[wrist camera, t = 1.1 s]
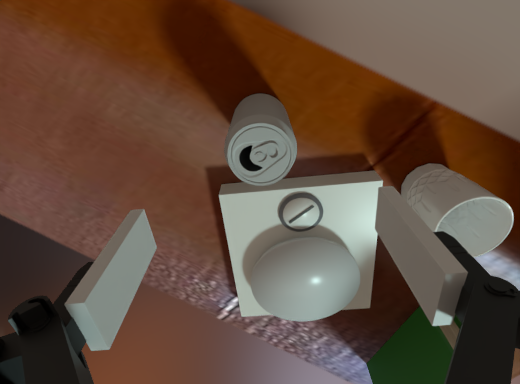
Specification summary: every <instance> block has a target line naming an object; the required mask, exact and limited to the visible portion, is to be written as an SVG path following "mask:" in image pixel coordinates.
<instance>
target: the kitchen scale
mask: <svg viewBox="0 0 520 384" xmlns="http://www.w3.org/2000/svg"><path fill="white" fill-rule="evenodd" d="M382 185H383V180H382V179H381V178H380V176H379V175H378V174H377V173H376V172H375V170H374V171H363V172H352V173H341V174H330V175H319V176H308V177H297V178H285V179H281V180H279V181H278V182H276V183H274V184H271V185H266V186H255V185H251V184H248V183H245V182H241V183H230V184H221V188H220V192H219V200H220V205H221V210H222V215H223V221H224V226H225V231H226V237H227V242H228V247H229V252H230V258H231V263H232V268H233V274H234V279H235V284H236V289H237V295H238V300H239V305H240V311H241V316H242V317H246V316H260V315H274V316H277V317H279V318H282V319H286V320H291V321H313V320H318V319H322V318H325V317H328V316H331V315H333V314H335V313H337V312H338V311H340V310H349V309H363V308H370V303H371V293H372V283H373V273H374V263H375V254H376V244H377V234H378V233H377V232H376V230H375V220H376V209H377V199H378V188H379V187H382Z"/></svg>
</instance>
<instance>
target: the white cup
mask: <svg viewBox="0 0 520 384" xmlns="http://www.w3.org/2000/svg"><path fill="white" fill-rule="evenodd" d="M401 196H402V197H403V198H404V199H405V201H406V202H407V203H408V204H409V205H410V206H411V207H412V209H413V210H414V211H415V212H416V213H417V214H418V216H419V217H420V218H421V219H422V220H423V221H424V222H425V224H426V225H427V226H428V227H429V228H430V229H431V230H432V232H439V231H444V232H446V233H447V234H449V235H451V236H452V237H454V238H455V239H456V240H457V241H458V242H459V243H460V244H461V245H462V247H464V248H465V249H466V250H467V251H468V254H470V255H471V256H472V257H473V258H474V257H478V256H481V255H483V254H485V253H487V252H489V251H491V250H493V249H494V248H495V247H497V246H498V245H499V244H500V243H501V242H503V240H504V239H505V238H506V237H507V236H508V234H509V233H510V231H511V229H512V226H513V222H514V214H513V210H512V208H511V207H510V205H509V204H508V203H507V202H505V201H504V200H502V199H500V198H499V197H497V196H496V195H494V194H492V193H491V192H489V191H487V190H486V189H484V188H483V187H481V186H479V185H478V184H476V183H475V182H473V181H471V180H469V179H468V178H466V177H464V176H462V175H461V174H459V173H456V172H454V171H452V170H450V169H448V168H447V167H445V166H443V165H442V164H432V163H428V164H425V165H423V166H420V167H417V168H416V169H414V170H413V171H412V172H411V173H409V174H408V175H407V176H406V178H405V180H404V182H403V184H402V185H401Z"/></svg>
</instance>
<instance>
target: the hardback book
mask: <svg viewBox="0 0 520 384" xmlns="http://www.w3.org/2000/svg"><path fill="white" fill-rule="evenodd" d="M461 324H462V323H461V321H460V320H459V319H458V317H457V316H456V314H455V317H454V320H453V323H452V325H440V326H432V325H431V323H430V321H429V320H428V318H427V316H426V315H425V313H424V311H423V309H422V308H421V306H419V307H418V308H417V309H416V310H415V312H414V313H413V314H412V315H411V316H410V317H409V318H408V319H407V320H406V321H405V322H404V323H403V325H402V326H401V327H400V328H399V329H398V330H397V331H396V332H395V333H394V334H393V335H392V337H391V338H390V339H389V340H388V341H387V342H386V343H385V344H384V345H383V346H382V347H381V348H380V350H379V351H378V352H377V353H376V354H375V355H374V356H373V357H372V358H371V359H370V360H369V361H368V363H367V367H368V370H369V373H370V376H371V379H372V382H373V384H444V381H445V378H446V375H447V371H448V368H449V364H450V361H451V357H452V354H453V351H454V347H455V344H456V339H457V336H458V333H459V330H460V327H461Z"/></svg>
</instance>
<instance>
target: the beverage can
mask: <svg viewBox="0 0 520 384" xmlns="http://www.w3.org/2000/svg"><path fill="white" fill-rule="evenodd" d="M224 153H225V158H226V161H227V163H228V165H229V167H230V168H231V170H232V171H233V173H234V174H235V175H236V176H237V177H238V178H239V179H240V180H242V181H244V182H245V183H248V184H251V185H255V186H266V185H271V184H274V183H276V182H278V181H279V180H281V179H282V178H283V177H285V175H286V174H287V173H288V172H289V170H290V169H291V167H292V165H293V164H294V161H295V159H296V154H297V143H296V139H295V136H294V133H293V130H292V127H291V124H290V121H289V118H288V115H287V113H286V110H285V108H284V106H283V105H282V103H281V102H280V101H279V100H277V99H276V98H275V97H273V96H271V95H268V94H261V93H260V94H253V95H250V96H248V97H246V98H244V99H243V100H242V101H241V102H240V103H239V104H238V106H237V107H236V109H235V112H234V115H233V118H232V121H231V124H230V127H229V131H228V134H227V137H226V140H225V147H224Z"/></svg>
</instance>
